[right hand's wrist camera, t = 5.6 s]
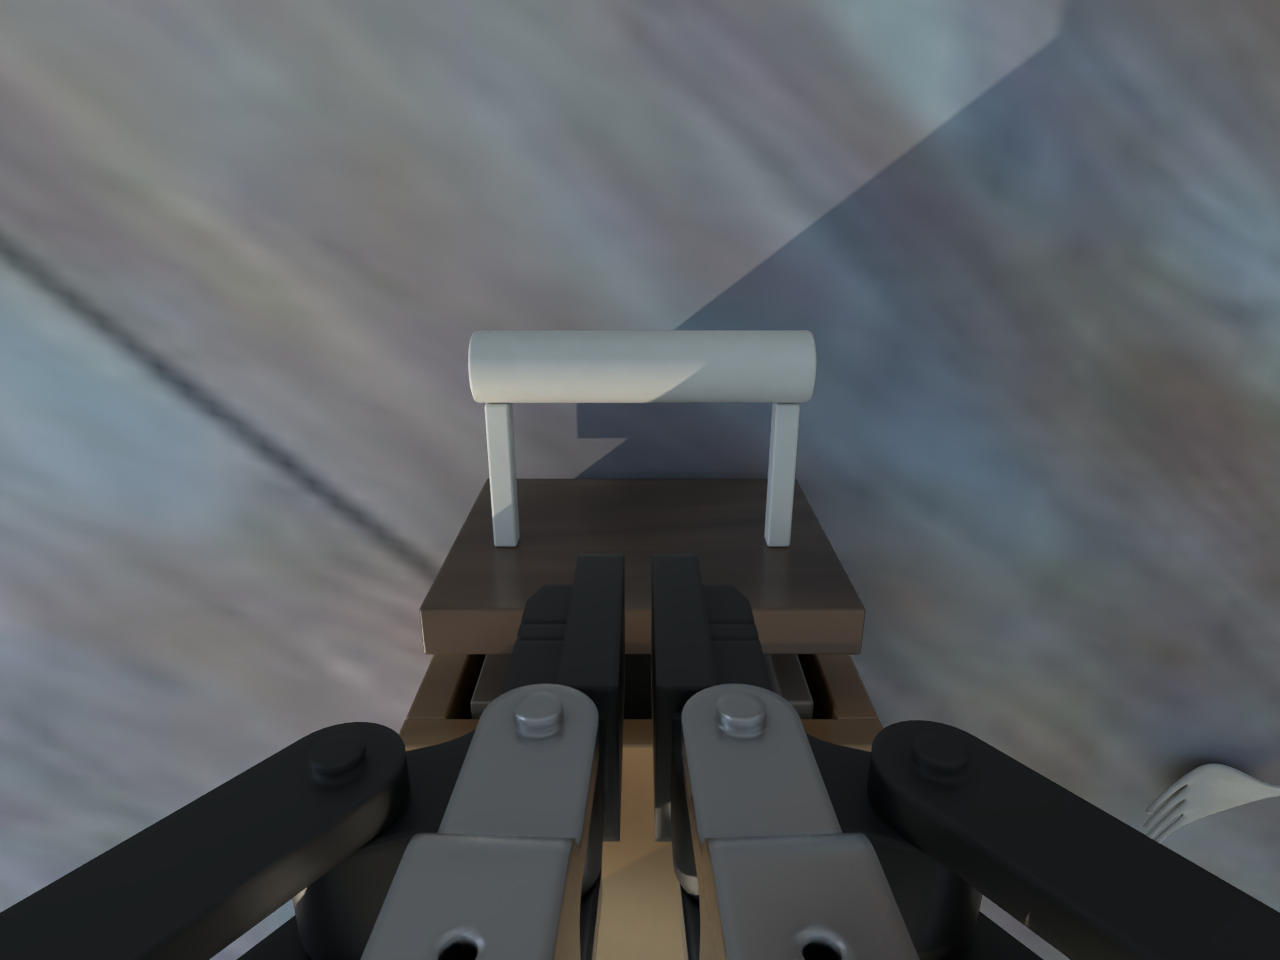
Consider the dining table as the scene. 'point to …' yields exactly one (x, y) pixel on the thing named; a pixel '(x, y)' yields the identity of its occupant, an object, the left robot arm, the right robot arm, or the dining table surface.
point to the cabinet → (641, 791)
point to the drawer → (643, 504)
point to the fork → (1206, 796)
